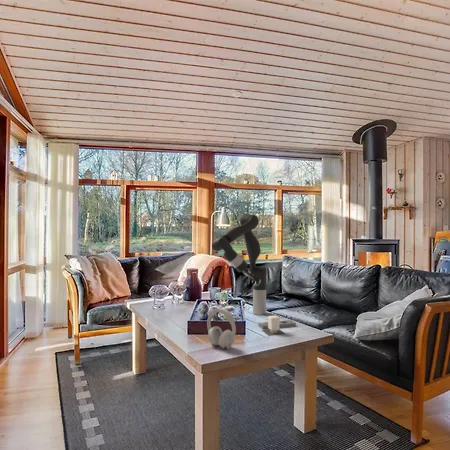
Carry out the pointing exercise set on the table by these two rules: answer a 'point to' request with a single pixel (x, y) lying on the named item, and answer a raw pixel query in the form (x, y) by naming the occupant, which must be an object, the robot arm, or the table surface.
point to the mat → (273, 333)
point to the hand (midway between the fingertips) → (255, 280)
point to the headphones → (216, 333)
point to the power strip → (281, 324)
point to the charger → (273, 323)
